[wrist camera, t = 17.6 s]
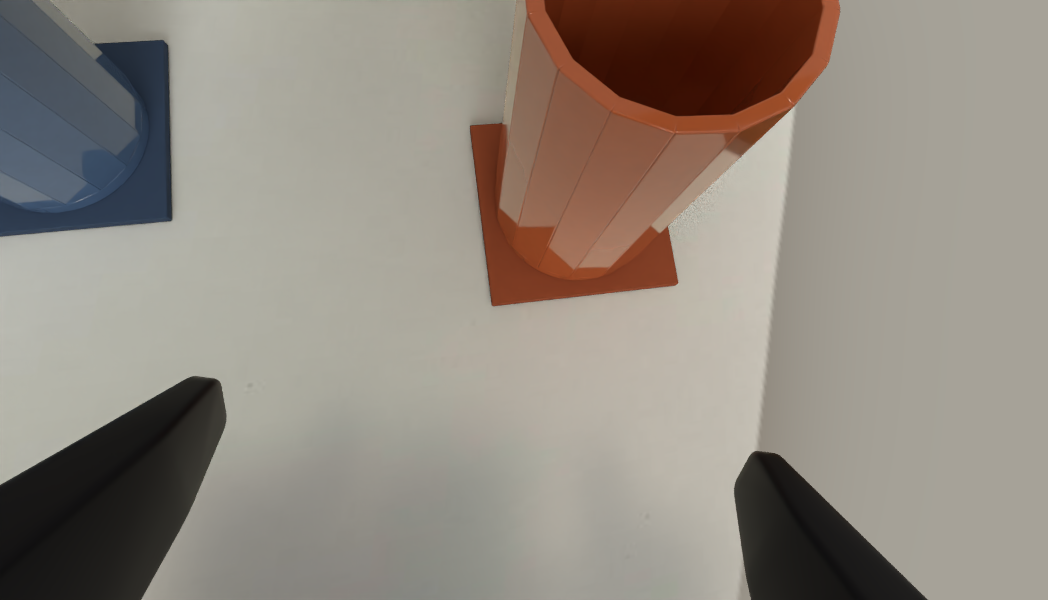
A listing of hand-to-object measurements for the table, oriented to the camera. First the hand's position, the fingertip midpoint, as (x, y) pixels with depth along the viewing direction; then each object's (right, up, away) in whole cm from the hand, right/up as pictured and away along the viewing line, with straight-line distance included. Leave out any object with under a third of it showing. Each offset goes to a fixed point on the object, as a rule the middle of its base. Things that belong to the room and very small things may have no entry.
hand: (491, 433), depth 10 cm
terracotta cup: (+3, +6, +15) cm, 17 cm away
